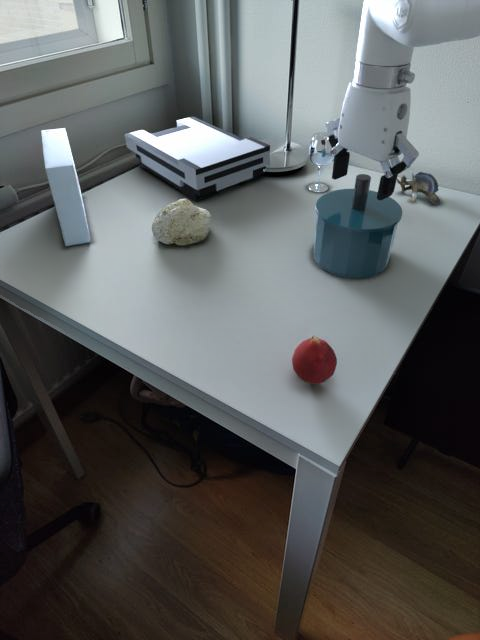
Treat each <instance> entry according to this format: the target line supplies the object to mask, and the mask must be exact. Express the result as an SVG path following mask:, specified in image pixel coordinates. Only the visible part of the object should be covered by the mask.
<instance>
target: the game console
mask: <svg viewBox="0 0 480 640" xmlns="http://www.w3.org/2000/svg"><path fill="white" fill-rule="evenodd" d="M124 140H125V145H126V148H127V149H129V150H130V151H132V152H133V153H134V154H135V157H136V158H137V159H138V160H140V164H141V165H140V166H141V168H143V169H144V170H146V171H148V172H150V173H151V174H153V175H155V177H158V178H159V179H160V180H162V181H164V182H165V183H166V184H169V185H170V186H172V187H174V188H175V189H177V190H178V191H179V192H181V193H183V194H184V195H186V196H187V197H189V198H191V199H192V200H194V201H196V202H197V201H199V200H202V199H204V198H208V197H210V196H213V195H216V194H218V192H219V191H220V190H223V189H226V188H228V187H231V186H233V185H236V184H241V185H243V184H246V183H249V182H251V181H253V180H257V179H259V178H261V176H262V175H263V174H266V173H265V172H263V169H265V168H266V169H267V166H269V165H271V164H270V163H271V144H269V143H266V142H264V141H261V140H259V139H257V138H254V137H251V136H250V137H247V138H243V137H240V136H238V135H236V134H233V133H231V132H229V131H227V130H224V129H222V128H220V127H218V126H216V125H213V124H211V123H209V122H206V121H204V120H202V119H200V118H197V117H196V116H189V117H185V118H182V119H177V120H176V126H175V127H172V128H171V127H170V128H168V129H164V130H159V131H157V132H153V133H151V132H148V131H146V130H144V129H140V130H135V131H132V132H128V133H125V134H124Z"/></svg>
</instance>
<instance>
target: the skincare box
mask: <svg viewBox="0 0 480 640" xmlns="http://www.w3.org/2000/svg"><path fill="white" fill-rule="evenodd" d="M40 135H41V145H42V153H43V161H44V169H45V173H46V177H47V181H48V185H49V188H50V192H51V196H52V200H53V203H54V206H55V210H56V214H57V218H58V222H59V225H60V229H61V233H62V238H63V241H64V245H65V247H70V246H76V245H82V244H88V243H90V242H91V241H92V240H91V235H90V230H89V223H88V219H87V214H86V209H85V204H84V200H83V196H82V191H81V186H80V183H79V182H80V181H79V177H78V173H77V170H76V165H75V161H74V158H73V153H72V148H71V145H70V141H69V138H68V134H67V130H66V127H63V128H62V127H61V128H53V129H52V128H51V129H42V130H40Z"/></svg>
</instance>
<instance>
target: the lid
mask: <svg viewBox="0 0 480 640" xmlns="http://www.w3.org/2000/svg"><path fill="white" fill-rule="evenodd" d="M371 180H372V176H370V175H369V174H365V173H360V174H357V175H356V176H355V182H354V188H340V189H336V190H332V191H328V192H327V193H324V194H323V195H321V196H319V198H318V199H317V201H316V203H315V213H316V216H317V215H318V216H319V218H320V219H321V220H323V221H324V222H326V223H327V224H329V225H331V226H333V227H336V228H339V229H342V230H347V231H352V232H378V231H383V230H386V229H389V228H391V227H393V226H395V225H396V224H397V225H398V224H399V223H400V221H401V220H402V217H403V208H402V206H401V205H400V203H398V201H396V200H395V199H393V198H392V197H391V196H389V197H387V198H385V199H383V200H381V201H380V200H378V199H377V193H378V191H375V190H370V187H371V182H372V181H371Z"/></svg>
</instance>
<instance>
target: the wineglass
mask: <svg viewBox="0 0 480 640" xmlns="http://www.w3.org/2000/svg"><path fill="white" fill-rule="evenodd" d="M328 138H329V135H328V132H325V131H319V132H315V133H313V134H312V136H311V140H310V143H309V147H308V158H309V161H310V162H311V163H313V164H314V165H316V166H318V167H317V173H318V175H317V176H318V177H317V183H312V184H310V185H308V189H309V190H310V192H314V193H324V192H327V191H328V190H329V187H328V185H326V184H324V183H321V177H322V176H321V175H322V172H323V166H326V165H329V164H330V163H331V162H332V161H334V155H333V154H332V147H331V145H330V143H329V140H328Z"/></svg>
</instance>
